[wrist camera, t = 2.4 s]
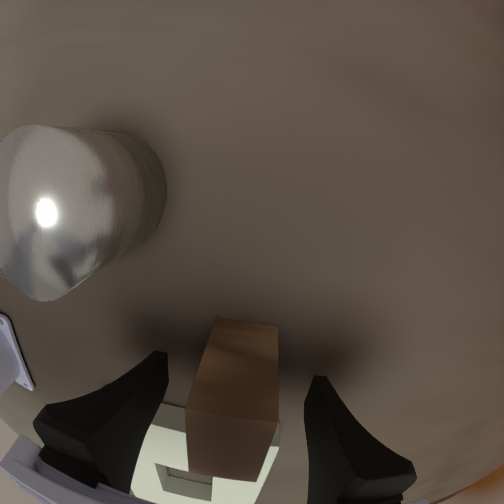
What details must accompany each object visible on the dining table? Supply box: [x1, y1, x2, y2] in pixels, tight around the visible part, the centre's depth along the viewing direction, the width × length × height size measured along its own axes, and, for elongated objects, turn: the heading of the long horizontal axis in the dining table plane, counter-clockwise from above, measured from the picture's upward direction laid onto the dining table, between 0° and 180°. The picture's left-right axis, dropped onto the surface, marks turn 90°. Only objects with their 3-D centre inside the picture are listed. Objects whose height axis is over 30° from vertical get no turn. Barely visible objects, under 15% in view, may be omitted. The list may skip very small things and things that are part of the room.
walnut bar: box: [185, 317, 279, 482], centre depth 11 cm, size 3×5×6 cm, turn 172°
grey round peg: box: [0, 125, 167, 302], centre depth 9 cm, size 6×6×6 cm
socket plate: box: [104, 385, 280, 504], centre depth 18 cm, size 12×18×2 cm, turn 173°
